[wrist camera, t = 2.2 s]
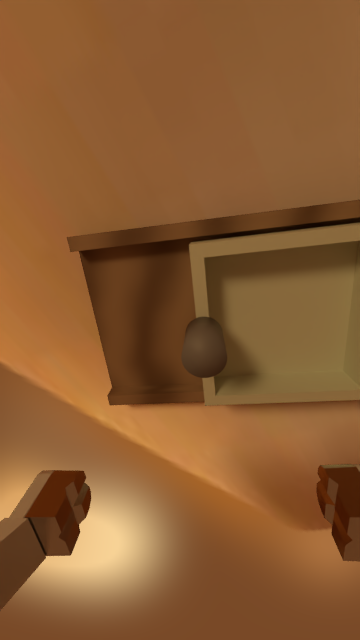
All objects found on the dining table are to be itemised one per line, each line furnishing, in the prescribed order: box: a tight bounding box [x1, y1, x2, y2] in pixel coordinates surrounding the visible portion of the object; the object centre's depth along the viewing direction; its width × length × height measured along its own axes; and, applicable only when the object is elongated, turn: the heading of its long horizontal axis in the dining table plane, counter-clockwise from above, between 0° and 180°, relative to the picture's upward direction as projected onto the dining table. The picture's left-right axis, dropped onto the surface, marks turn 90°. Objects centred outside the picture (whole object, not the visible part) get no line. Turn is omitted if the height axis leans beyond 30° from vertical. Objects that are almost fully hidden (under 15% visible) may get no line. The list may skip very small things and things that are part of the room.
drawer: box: [181, 222, 360, 406], centre depth 19 cm, size 15×14×8 cm
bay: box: [67, 200, 360, 405], centre depth 23 cm, size 26×17×4 cm, turn 97°
